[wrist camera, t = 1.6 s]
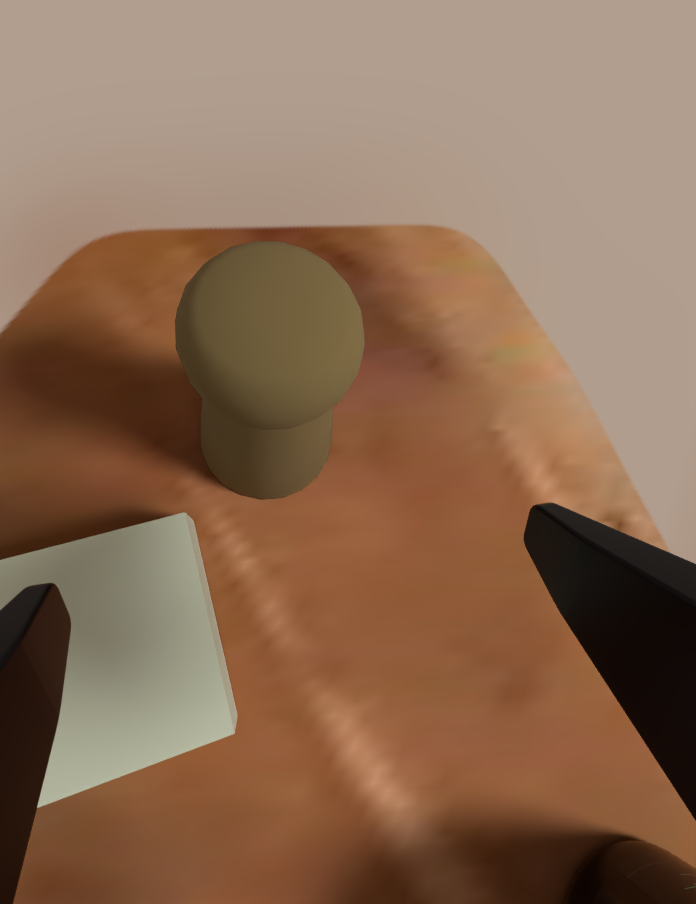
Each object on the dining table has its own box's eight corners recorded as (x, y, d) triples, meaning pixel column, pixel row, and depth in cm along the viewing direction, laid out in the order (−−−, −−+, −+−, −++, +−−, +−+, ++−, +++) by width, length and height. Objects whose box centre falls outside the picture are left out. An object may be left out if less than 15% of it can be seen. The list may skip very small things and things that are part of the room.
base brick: (237, 715, 19) (234, 733, 17) (13, 797, 17) (-26, 831, 15) (193, 520, 21) (185, 512, 18) (-15, 575, 19) (-55, 574, 16)
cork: (170, 440, 21) (87, 302, 11) (261, 352, 23) (263, 163, 13) (273, 527, 21) (288, 471, 11) (356, 430, 23) (436, 303, 13)
